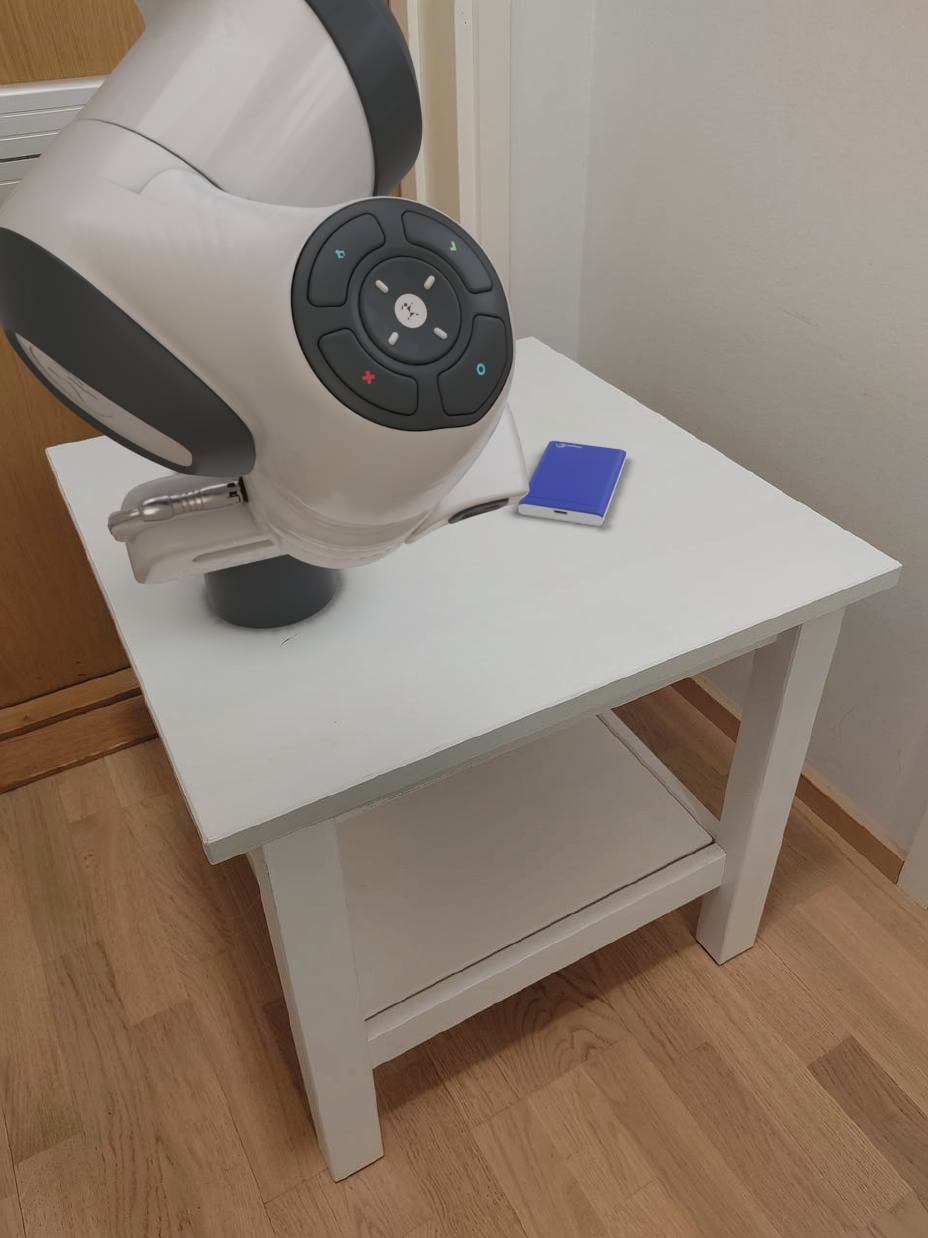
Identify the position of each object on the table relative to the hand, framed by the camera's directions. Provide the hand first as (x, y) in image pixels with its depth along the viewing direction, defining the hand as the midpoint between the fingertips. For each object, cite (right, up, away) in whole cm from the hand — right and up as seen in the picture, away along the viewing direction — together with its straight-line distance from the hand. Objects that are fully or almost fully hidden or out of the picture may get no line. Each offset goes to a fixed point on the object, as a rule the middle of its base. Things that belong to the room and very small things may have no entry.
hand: (311, 533), depth 56 cm
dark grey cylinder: (-9, -1, +29) cm, 31 cm away
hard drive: (+20, +8, +39) cm, 45 cm away
